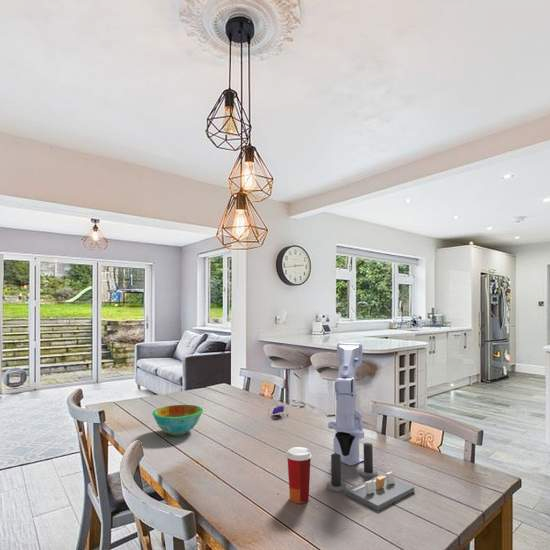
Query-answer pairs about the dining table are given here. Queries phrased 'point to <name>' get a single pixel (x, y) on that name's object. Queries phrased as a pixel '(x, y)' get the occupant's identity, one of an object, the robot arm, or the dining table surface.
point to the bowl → (177, 418)
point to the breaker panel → (380, 493)
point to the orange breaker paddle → (380, 482)
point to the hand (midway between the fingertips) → (345, 454)
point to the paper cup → (299, 474)
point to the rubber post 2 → (368, 462)
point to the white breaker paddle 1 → (369, 487)
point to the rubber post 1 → (336, 475)
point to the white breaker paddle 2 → (389, 477)
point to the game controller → (278, 410)
